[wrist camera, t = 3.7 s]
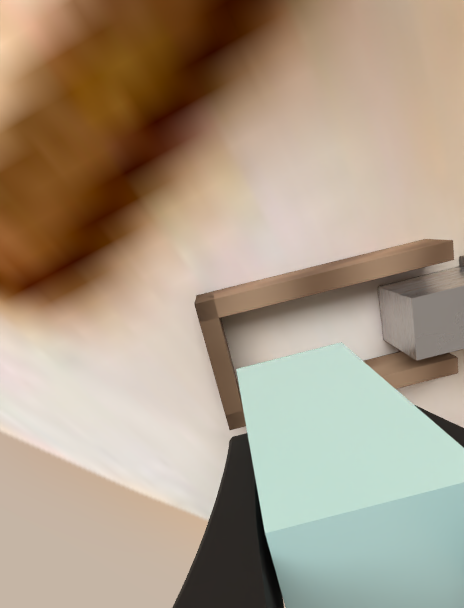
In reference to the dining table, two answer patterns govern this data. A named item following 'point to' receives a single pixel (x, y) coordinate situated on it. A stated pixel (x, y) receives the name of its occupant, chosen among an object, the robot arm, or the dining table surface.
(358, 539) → the block
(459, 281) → the grey t-shaped block
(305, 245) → the dining table surface
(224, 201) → the dining table surface
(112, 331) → the dining table surface
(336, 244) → the dining table surface
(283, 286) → the rail channel
